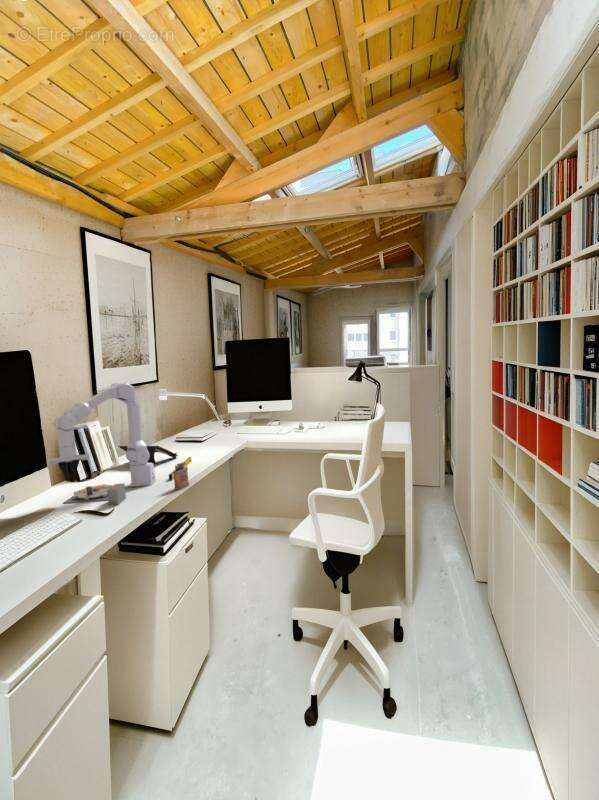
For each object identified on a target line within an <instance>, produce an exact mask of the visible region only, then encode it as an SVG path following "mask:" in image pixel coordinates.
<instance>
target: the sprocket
mask: <svg viewBox="0 0 599 800" xmlns="http://www.w3.org/2000/svg"><path fill="white" fill-rule="evenodd" d="M114 485H115V484H113V485H112V484H106V483H105V484H100V485H93V486H89V485H88V486H86V487H85V488H82V489H79V490H77V491H76V490H75V491H74V492H73V495H72V496H73V499H85V500H89V499H94V498H100V497H107V495H108V494H107V490H108V489H110V488H111V487H112V486H114Z"/></svg>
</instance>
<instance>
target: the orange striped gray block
mask: <svg viewBox="0 0 599 800" xmlns="http://www.w3.org/2000/svg"><path fill="white" fill-rule="evenodd" d="M113 485H114V486H112V487H111V488H110V489H108V490H107V494H108V500H107V501H108V502H107V503H108V506H109V505H113V506H116V507H117V506H119V505H120V504H121V503H123V502H124V501H125V500H126V499H127V494H126V488H125V486H126V484H125V483H115V484H113ZM113 506H112V507H113Z"/></svg>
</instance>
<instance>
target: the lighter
mask: <svg viewBox="0 0 599 800" xmlns="http://www.w3.org/2000/svg"><path fill="white" fill-rule="evenodd" d="M184 465H186V463H185V462H184V461H182V462H180V463H176V465H174V470H175V469H176V470H175V471H174V470H172V472H173V474H174V479H173V481H174V491H181V490H183V489H185V488H188V487H189V486H190V482H189V472H188V470H189V469H188V466H187V467H184Z"/></svg>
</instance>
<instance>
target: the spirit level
mask: <svg viewBox="0 0 599 800" xmlns="http://www.w3.org/2000/svg"><path fill="white" fill-rule="evenodd" d="M191 461H192V456H188V457H187V458H186V459H185V460H184V461H183V462H185V463H186V465H184V467H186V466H187V465H188V464H189V463H190V462H191ZM191 463H192V462H191ZM191 463H190V464H191ZM190 464H189V465H190ZM189 465H188V466H189ZM188 466H187V467H188ZM175 470H176V469H175V468H174V469H173V471H175ZM173 471H172V472H170V473H169V474H168V481H169V480H170V481H174V474H173Z"/></svg>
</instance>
